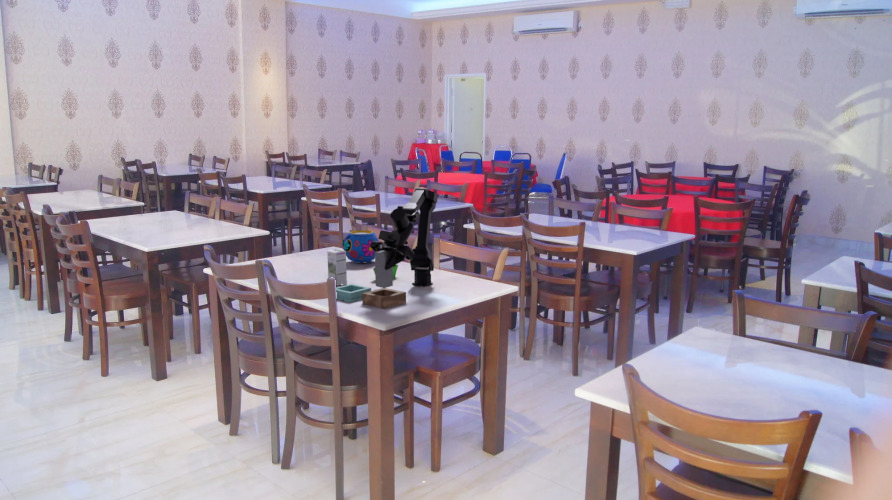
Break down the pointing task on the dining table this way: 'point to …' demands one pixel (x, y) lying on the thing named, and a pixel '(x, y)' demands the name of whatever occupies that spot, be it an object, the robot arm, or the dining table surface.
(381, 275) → the square axle
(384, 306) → the bore block
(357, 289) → the cradle
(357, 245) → the ceramic pot
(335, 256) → the syrup box
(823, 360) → the dining table surface
